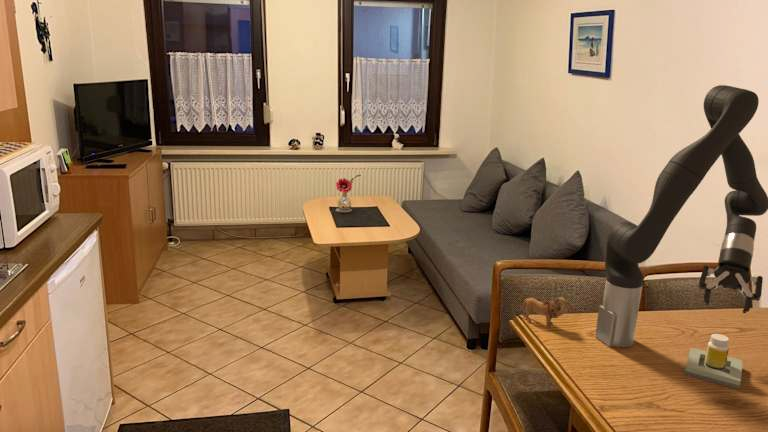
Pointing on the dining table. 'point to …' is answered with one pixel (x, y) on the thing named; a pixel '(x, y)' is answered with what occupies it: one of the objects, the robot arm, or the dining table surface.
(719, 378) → the recess plate
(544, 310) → the lion figurine
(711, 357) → the supplement bottle
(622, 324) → the robot arm
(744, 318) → the dining table surface
